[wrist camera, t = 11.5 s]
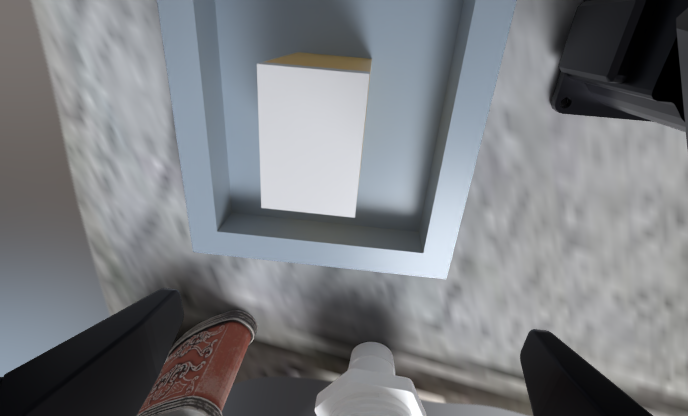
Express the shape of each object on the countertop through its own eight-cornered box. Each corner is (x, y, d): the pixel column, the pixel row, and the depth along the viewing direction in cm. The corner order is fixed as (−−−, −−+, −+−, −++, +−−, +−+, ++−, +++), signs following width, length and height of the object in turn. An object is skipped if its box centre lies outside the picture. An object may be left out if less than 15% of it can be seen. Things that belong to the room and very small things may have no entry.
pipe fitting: (330, 317, 25) (312, 431, 18) (430, 334, 25) (451, 455, 18) (319, 376, 28) (299, 495, 21) (409, 392, 28) (420, 516, 21)
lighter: (194, 370, 29) (113, 522, 20) (163, 344, 28) (62, 492, 19) (267, 331, 26) (212, 486, 17) (236, 301, 25) (160, 450, 16)
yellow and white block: (372, 58, 17) (369, 73, 11) (361, 160, 19) (354, 217, 13) (298, 52, 17) (256, 63, 11) (296, 153, 19) (261, 208, 13)
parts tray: (511, -77, 15) (542, -101, 12) (437, 248, 22) (446, 279, 19) (180, -99, 15) (138, -127, 13) (214, 225, 22) (192, 251, 20)
